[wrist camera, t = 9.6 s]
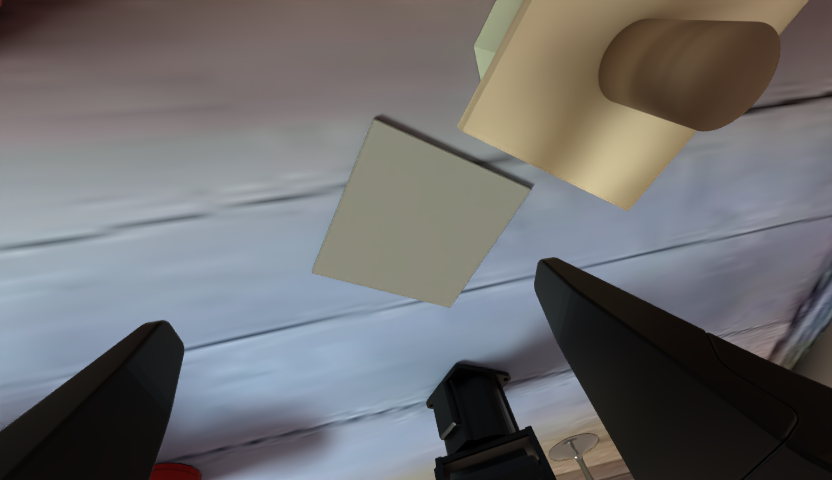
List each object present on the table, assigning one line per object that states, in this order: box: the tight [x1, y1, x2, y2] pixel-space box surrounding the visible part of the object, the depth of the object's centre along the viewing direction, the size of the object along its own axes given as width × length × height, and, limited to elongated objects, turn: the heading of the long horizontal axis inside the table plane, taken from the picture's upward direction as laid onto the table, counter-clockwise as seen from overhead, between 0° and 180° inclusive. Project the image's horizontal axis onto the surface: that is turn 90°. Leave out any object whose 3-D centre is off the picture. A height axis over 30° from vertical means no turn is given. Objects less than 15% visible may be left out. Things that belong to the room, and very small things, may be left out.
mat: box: [312, 118, 531, 308], centre depth 23 cm, size 11×11×1 cm
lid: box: [458, 0, 809, 211], centre depth 13 cm, size 11×11×5 cm
